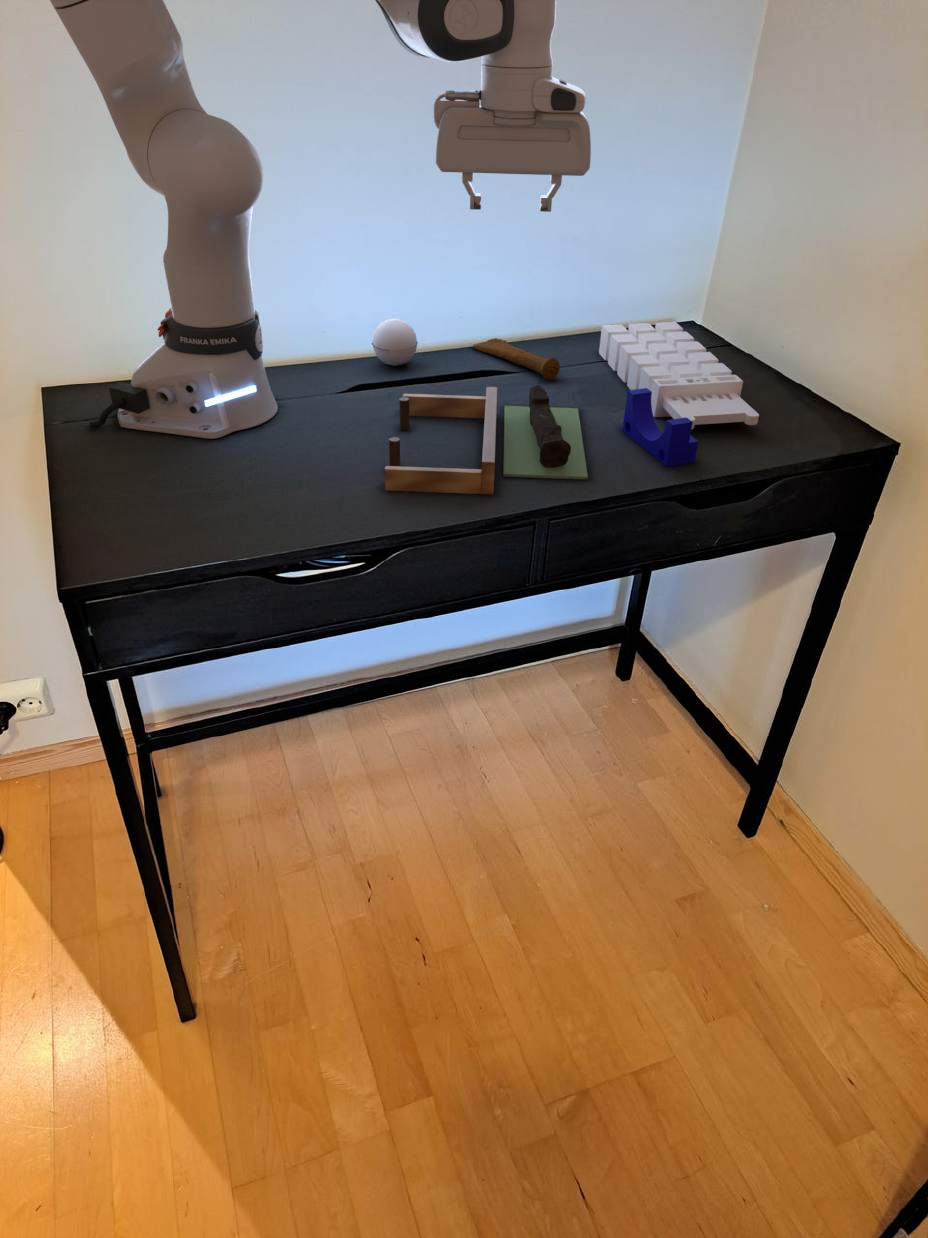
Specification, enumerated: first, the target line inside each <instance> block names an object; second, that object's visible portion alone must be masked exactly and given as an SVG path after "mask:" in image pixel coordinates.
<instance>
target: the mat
mask: <svg viewBox="0 0 928 1238" xmlns="http://www.w3.org/2000/svg"><path fill="white" fill-rule="evenodd" d="M550 409H551V412H552V413H553V416H554V418H555V421H556V423H557V425H559V426H561V429H562V431H561V434H562V437H563V440H565V441H566V442H568V443H569V444H570V446H571V452H570V454H569V456H568V461H567V463H566V464H565V465H563V466H559V467H549V468H548V467H546V468H545V467H544V466H542V464H541V463H540V461H539V460H540V448H539V446H538V443H537V438H536V435H535V433H534V428H533V426H532V425H531V424H530V408H529V406H522V405H504V411H503V412H504V418H503V423H504V424H503V470H502V471H503V473H502V474H503V475H502V476H503V477H506V478H508V477H510V478H532V479H534V478H536V479H559V480H560V479H561V480H562V479H563V480H565V479H566V480H585V481H587V480H588V479H589V476H588V469H587V461H586V455H585V454H586V453H585V448H584V439H583V434H582V433H583V432H582V427H581V419H580V413H579V408H578V407H555V406H554V407H551V406H550Z"/></svg>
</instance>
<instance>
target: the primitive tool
mask: <svg viewBox="0 0 928 1238" xmlns="http://www.w3.org/2000/svg"><path fill="white" fill-rule="evenodd" d="M472 347H473V349H476V350H477V351H480V352H483V353H487V354H489V355H493V356H494V357H498V358H501V359H505V360H507V361H508V362H511V363H514V364H516V365H518V366H521V367H524V368H527V369H529V370H531V371H534V372H535V373H538V374H540V375H541V376H542V378H543V379H545V380H547V381H552V380H555V379H556V378H557V376H558V374H560V373H559V372H560V369H561V366H560V362H559V360H558V359H557V358H556V357H550V358H547V357H544V356H540V355H537V354H534V353H533V352H530V351H528V350H524V349H522V348H519V347H517V346H514V345H513V344H510V343H508V341H506V340H504V339H500V338H497V337H494V338H490V339H488V340H486V341H482V342H478V343H474V344H473V345H472Z"/></svg>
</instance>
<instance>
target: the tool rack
mask: <svg viewBox="0 0 928 1238" xmlns="http://www.w3.org/2000/svg"><path fill="white" fill-rule="evenodd" d="M398 403H399V406H398V409H399V430H401V431H409V430H410V428H411V423H410V422H411V420H410V417H435V418H436V417H439V418H466V419H484V420H483V436H482V437H483V440H482V453H481V455H482V456H481V468H480V469H478V468H456V467H455V468H454V467H453V468H452V467H426V466H404V465H403V466H402V464H401V462H402V461H401V438H400V437H397V436H392V437H390V438H388V448H389V449H388V450H389V452H388V453H389V465H385V467H384V488H385V491H387V492H388V491H392V492H418V493H441V494H442V493H445V494H471V495H472V494H473V495H494V492H495V472H496V471H495V470H496V445H497V444H496V441H497V414H498V412H497V410H498V386H486V387H485V395H484V396H483V395H481V396H480V395H479V396H478V395H457V394H456V395H455V394H453V395H452V394H426V393H425V394H424V393H402V397H399V399H398Z"/></svg>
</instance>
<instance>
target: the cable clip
mask: <svg viewBox="0 0 928 1238" xmlns="http://www.w3.org/2000/svg"><path fill="white" fill-rule="evenodd" d="M626 393H627V394H626V400H625V408H624V416H623V423H622V432H624V434H626V435H627V436H628V437H629V438H631V439H632V440H633V441H635V442H636V443H637V444H638V445H639V446H640V447H642V448H643V449H644V450H646V452H648V453H649V454H650V455H651V456H652V457H654V458H655V459H656V460H657V461H658V462H660V463H661V464H662V465H663V466H665V467H671V466H672V467H673V466H677V465H684V464H689V463H695V462H696V456H697V452H698V446H699V440H698V439H696V438H695V437H694V436H692V434H691V433H692V429H691V428H692V423H693V422H692V421H691V420H689V419H688V418H687V417H686V418H679V419H673V418H672V419H668V420H667V419H666V422H665V427H664V429H663V431H661V430H660V428H659V427H658V425H657V423H656V420H655V417H654V416H653V413H652V406H651V395H652V392H651V391H650V390H648V389H647V388H643V389H636V390H630V389H629V390H627V392H626Z"/></svg>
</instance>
